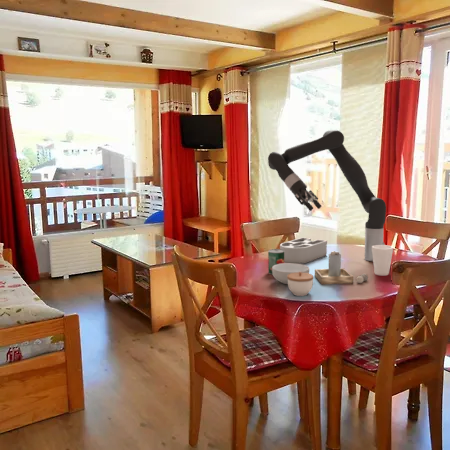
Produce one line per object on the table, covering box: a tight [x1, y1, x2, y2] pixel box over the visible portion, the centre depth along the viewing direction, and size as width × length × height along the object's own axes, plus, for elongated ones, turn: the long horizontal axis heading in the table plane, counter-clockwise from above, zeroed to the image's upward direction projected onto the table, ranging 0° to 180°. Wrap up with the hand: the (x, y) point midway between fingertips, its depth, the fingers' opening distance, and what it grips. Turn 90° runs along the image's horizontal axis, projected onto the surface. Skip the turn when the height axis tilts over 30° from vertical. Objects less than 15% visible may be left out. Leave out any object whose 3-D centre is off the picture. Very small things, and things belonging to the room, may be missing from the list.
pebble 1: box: [355, 275, 364, 284], centre depth 209 cm, size 3×3×3 cm
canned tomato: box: [267, 248, 285, 276], centre depth 229 cm, size 8×8×11 cm
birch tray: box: [314, 267, 354, 285], centre depth 216 cm, size 14×14×3 cm
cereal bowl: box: [271, 262, 310, 285], centre depth 213 cm, size 17×17×7 cm
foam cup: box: [372, 244, 394, 276], centre depth 223 cm, size 10×9×13 cm
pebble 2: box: [360, 273, 369, 282], centre depth 212 cm, size 3×3×3 cm
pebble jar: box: [328, 250, 342, 277], centre depth 214 cm, size 5×5×13 cm
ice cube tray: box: [279, 237, 328, 264], centre depth 258 cm, size 17×28×9 cm, turn 139°
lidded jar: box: [287, 272, 314, 297], centre depth 196 cm, size 11×11×9 cm
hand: (316, 208), depth 229 cm, fingers open, 8 cm apart
